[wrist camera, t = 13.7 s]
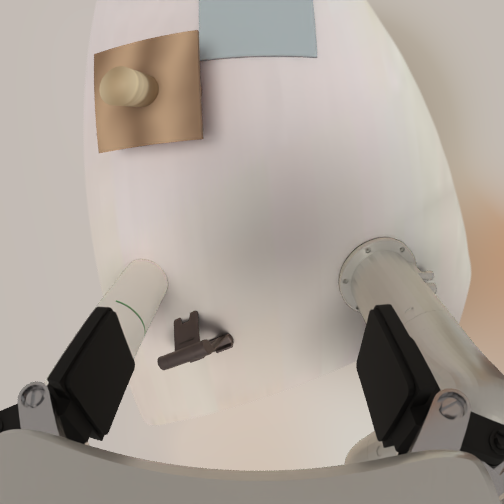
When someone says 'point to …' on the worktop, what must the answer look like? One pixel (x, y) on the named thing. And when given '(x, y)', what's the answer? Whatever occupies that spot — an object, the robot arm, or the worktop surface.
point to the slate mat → (256, 28)
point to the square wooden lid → (148, 92)
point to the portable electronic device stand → (192, 344)
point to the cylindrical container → (135, 300)
